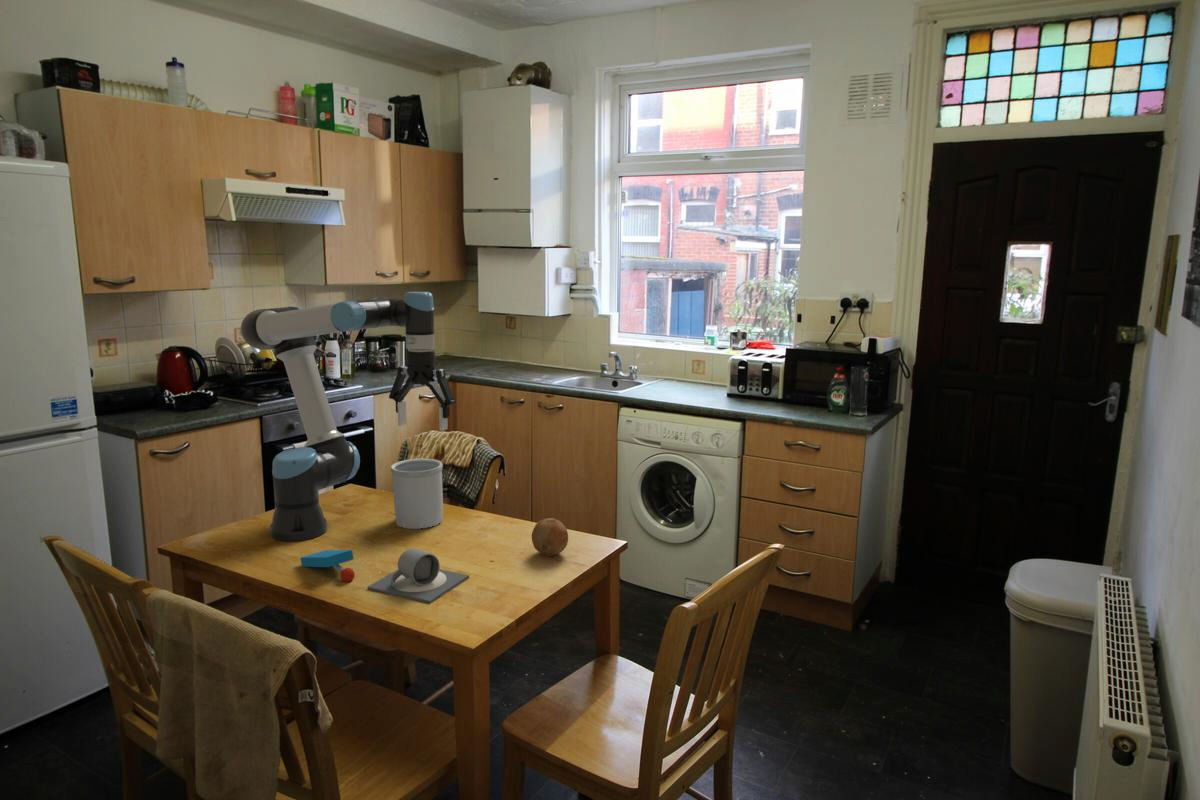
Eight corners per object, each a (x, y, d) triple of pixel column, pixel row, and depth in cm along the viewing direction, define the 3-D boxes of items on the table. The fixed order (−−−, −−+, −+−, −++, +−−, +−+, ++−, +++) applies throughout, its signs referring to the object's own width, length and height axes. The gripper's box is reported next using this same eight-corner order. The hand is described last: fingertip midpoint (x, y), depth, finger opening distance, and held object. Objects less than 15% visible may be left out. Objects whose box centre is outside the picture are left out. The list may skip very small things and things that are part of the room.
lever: (305, 584, 200) (339, 586, 187) (300, 557, 200) (333, 557, 187) (330, 576, 205) (364, 577, 192) (325, 550, 205) (359, 549, 192)
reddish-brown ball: (569, 547, 214) (569, 512, 212) (566, 562, 204) (567, 525, 202) (533, 547, 214) (533, 512, 212) (529, 561, 204) (529, 524, 202)
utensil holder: (383, 527, 227) (381, 469, 224) (407, 511, 242) (405, 456, 238) (430, 532, 224) (429, 473, 221) (452, 515, 238) (450, 460, 235)
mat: (367, 589, 186) (367, 585, 186) (409, 565, 201) (409, 562, 200) (430, 603, 179) (430, 600, 179) (469, 577, 193) (469, 574, 193)
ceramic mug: (421, 570, 195) (420, 541, 194) (440, 580, 189) (439, 550, 188) (384, 583, 188) (382, 553, 186) (402, 594, 182) (400, 563, 180)
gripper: (373, 348, 212) (377, 425, 216) (451, 354, 202) (453, 434, 206) (391, 345, 218) (394, 420, 222) (467, 351, 209) (469, 429, 213)
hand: (422, 427), depth 214 cm, fingers open, 13 cm apart
